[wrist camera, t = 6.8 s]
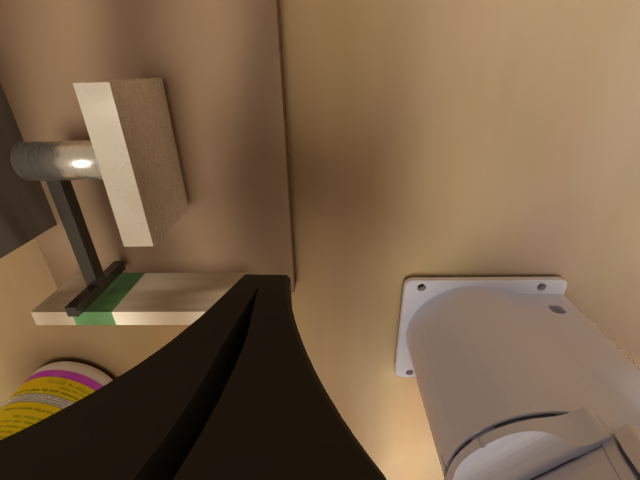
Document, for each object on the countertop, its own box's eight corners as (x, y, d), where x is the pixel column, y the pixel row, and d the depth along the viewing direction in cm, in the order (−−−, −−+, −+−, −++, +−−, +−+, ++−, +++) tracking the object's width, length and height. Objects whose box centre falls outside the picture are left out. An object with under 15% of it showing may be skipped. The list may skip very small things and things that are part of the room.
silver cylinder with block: (163, 77, 15) (109, 82, 11) (201, 267, 19) (172, 316, 15) (37, 80, 15) (-57, 85, 11) (104, 268, 19) (51, 316, 16)
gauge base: (277, -20, 14) (240, -83, 8) (295, 282, 21) (282, 374, 15) (-51, -11, 15) (-331, -66, 8) (71, 283, 21) (-34, 373, 15)
